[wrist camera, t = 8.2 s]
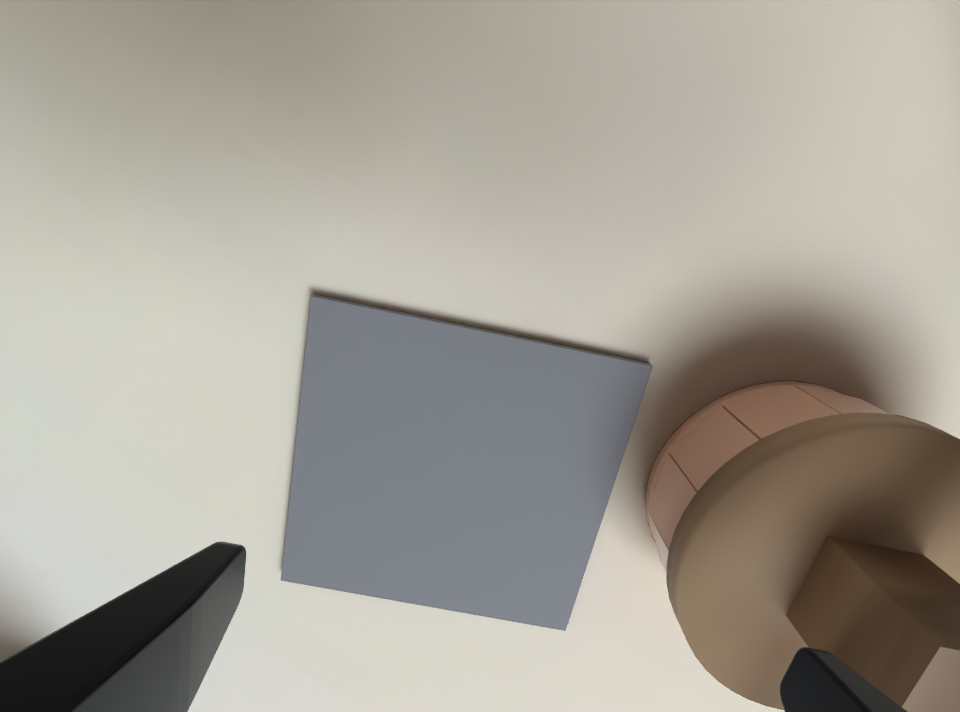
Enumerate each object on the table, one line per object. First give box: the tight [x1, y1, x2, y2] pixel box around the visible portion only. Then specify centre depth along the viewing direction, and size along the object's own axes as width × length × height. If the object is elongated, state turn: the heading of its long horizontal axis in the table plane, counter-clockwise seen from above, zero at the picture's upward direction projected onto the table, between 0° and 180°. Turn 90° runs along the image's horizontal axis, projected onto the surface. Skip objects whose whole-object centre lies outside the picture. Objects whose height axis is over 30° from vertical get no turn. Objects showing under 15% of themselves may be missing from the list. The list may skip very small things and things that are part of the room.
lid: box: [667, 413, 960, 712], centre depth 14 cm, size 11×11×5 cm
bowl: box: [646, 382, 891, 573], centre depth 19 cm, size 10×10×4 cm
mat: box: [281, 294, 652, 631], centre depth 21 cm, size 13×13×1 cm
